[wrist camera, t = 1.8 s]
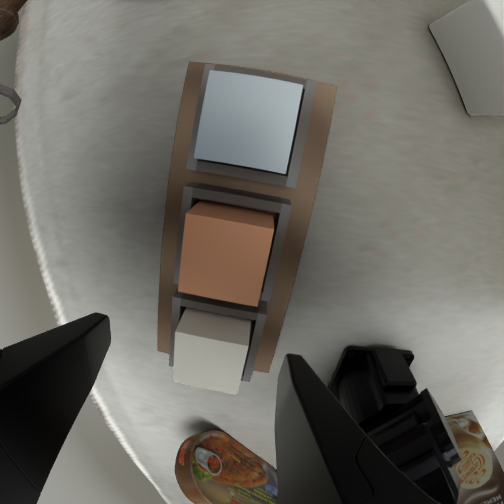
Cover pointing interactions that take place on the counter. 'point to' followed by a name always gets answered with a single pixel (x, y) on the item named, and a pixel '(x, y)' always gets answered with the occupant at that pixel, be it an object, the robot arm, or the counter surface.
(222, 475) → the tin
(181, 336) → the white button
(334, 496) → the robot arm
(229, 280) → the terracotta button
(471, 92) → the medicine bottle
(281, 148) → the slate button
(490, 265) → the counter surface
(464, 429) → the coffee box
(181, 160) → the button panel
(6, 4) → the coffee pot
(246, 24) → the counter surface
